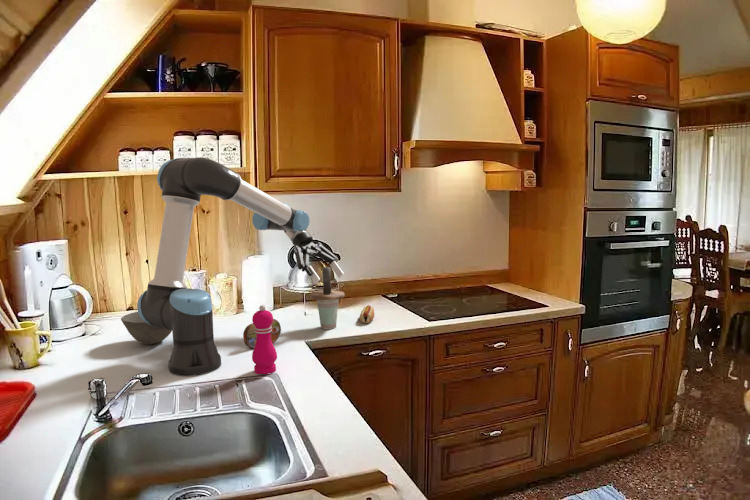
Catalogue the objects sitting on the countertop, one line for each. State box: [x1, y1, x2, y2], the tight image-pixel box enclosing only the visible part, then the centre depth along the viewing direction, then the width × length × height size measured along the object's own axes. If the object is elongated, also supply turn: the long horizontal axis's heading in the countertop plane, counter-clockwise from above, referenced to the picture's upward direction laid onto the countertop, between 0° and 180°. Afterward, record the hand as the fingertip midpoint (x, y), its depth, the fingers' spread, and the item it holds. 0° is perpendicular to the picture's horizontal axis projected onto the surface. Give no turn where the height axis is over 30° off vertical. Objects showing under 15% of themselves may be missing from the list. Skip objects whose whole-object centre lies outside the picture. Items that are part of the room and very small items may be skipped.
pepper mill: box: [251, 304, 278, 375], centre depth 156 cm, size 7×7×20 cm
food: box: [359, 305, 375, 324], centre depth 212 cm, size 14×6×5 cm, turn 175°
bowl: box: [120, 311, 173, 345], centre depth 186 cm, size 19×19×10 cm
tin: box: [242, 318, 282, 349], centre depth 182 cm, size 15×3×8 cm, turn 143°
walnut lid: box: [309, 266, 345, 301], centre depth 200 cm, size 13×13×11 cm
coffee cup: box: [316, 299, 340, 330], centre depth 202 cm, size 9×8×12 cm
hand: (330, 278), depth 199 cm, fingers open, 13 cm apart
